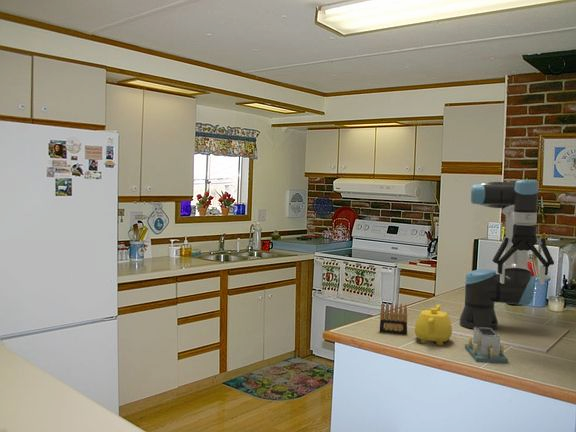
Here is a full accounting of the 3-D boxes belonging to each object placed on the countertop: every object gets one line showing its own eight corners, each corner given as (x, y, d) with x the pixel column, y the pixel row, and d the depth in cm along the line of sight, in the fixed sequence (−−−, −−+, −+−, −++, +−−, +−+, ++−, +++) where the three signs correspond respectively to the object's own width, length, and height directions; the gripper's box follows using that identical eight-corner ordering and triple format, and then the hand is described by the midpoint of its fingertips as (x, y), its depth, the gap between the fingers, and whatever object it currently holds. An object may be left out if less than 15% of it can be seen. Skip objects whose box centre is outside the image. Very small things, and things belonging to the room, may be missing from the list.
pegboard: (464, 347, 195) (465, 334, 195) (494, 348, 195) (494, 335, 194) (476, 361, 181) (476, 347, 180) (507, 362, 180) (508, 348, 179)
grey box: (473, 346, 193) (474, 326, 193) (490, 347, 193) (491, 327, 192) (480, 356, 182) (481, 335, 182) (499, 357, 182) (500, 336, 181)
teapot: (454, 335, 210) (456, 304, 209) (448, 350, 192) (449, 316, 191) (420, 331, 215) (421, 300, 215) (410, 345, 197) (411, 311, 196)
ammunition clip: (407, 333, 212) (408, 303, 211) (406, 334, 210) (407, 304, 209) (379, 331, 215) (380, 301, 214) (379, 332, 213) (380, 302, 212)
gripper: (490, 224, 187) (488, 284, 189) (566, 226, 184) (562, 287, 186) (485, 222, 194) (482, 280, 196) (557, 223, 192) (554, 282, 193)
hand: (521, 283), depth 191 cm, fingers open, 13 cm apart
